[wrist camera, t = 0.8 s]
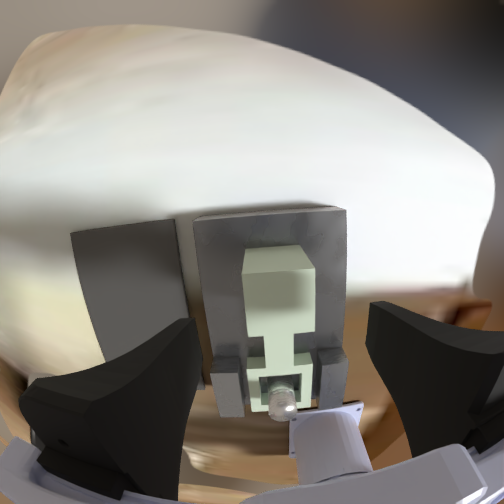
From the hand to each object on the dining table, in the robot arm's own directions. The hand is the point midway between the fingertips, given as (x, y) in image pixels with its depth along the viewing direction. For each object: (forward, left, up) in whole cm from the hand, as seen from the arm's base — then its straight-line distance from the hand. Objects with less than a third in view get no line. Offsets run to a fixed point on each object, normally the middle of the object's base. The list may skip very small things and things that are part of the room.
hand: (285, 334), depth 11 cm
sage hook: (-5, 0, -8) cm, 9 cm away
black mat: (-4, +12, -10) cm, 16 cm away
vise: (-4, 0, -10) cm, 11 cm away
